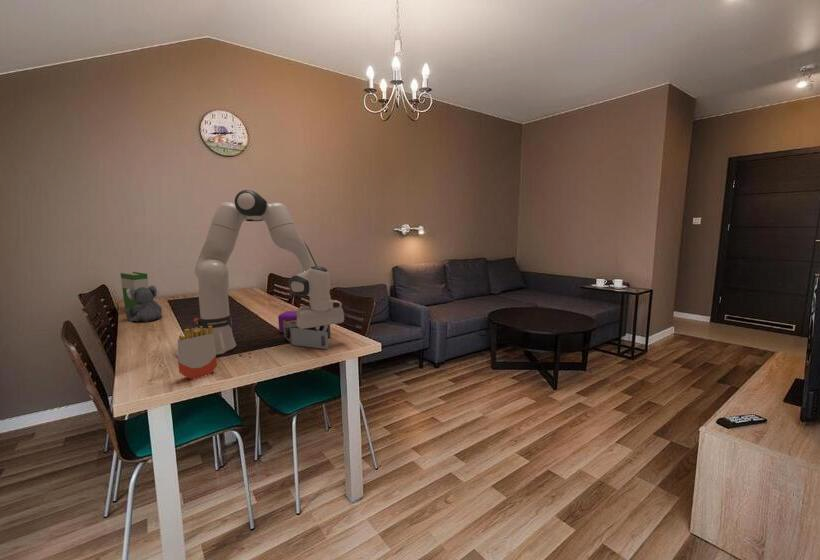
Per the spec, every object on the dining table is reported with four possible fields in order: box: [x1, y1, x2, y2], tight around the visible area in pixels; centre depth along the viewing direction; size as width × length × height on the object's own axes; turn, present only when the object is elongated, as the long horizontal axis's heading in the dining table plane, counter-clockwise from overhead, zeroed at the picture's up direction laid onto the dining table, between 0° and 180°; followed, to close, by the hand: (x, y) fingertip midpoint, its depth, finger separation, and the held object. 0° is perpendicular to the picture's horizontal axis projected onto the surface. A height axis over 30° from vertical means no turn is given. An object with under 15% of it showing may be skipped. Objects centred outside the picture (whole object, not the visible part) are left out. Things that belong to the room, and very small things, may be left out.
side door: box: [290, 328, 329, 350], centre depth 159 cm, size 18×2×8 cm, turn 70°
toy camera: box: [277, 309, 297, 334], centre depth 184 cm, size 11×14×10 cm
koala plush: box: [124, 284, 163, 323], centre depth 208 cm, size 17×18×20 cm
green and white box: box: [120, 271, 150, 311], centre depth 227 cm, size 18×7×24 cm, turn 57°
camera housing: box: [283, 320, 332, 344], centre depth 172 cm, size 19×11×9 cm, turn 123°
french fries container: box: [177, 326, 218, 380], centre depth 129 cm, size 5×11×18 cm, turn 140°
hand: (321, 335), depth 160 cm, fingers closed
